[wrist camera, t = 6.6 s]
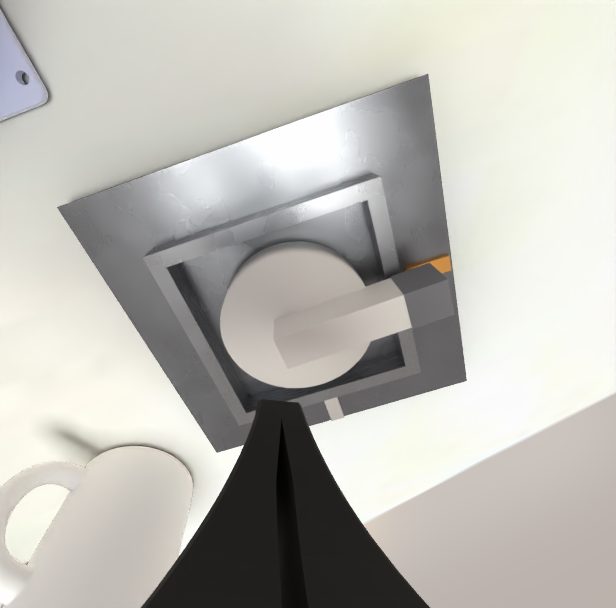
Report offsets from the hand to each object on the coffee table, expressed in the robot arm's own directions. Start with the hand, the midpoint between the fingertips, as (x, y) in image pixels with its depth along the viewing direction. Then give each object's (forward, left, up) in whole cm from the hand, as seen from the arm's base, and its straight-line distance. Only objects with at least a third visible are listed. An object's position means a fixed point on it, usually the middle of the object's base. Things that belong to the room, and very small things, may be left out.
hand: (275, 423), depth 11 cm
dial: (+1, +3, -9) cm, 9 cm away
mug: (+10, -16, -11) cm, 22 cm away
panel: (+1, +1, -10) cm, 10 cm away
